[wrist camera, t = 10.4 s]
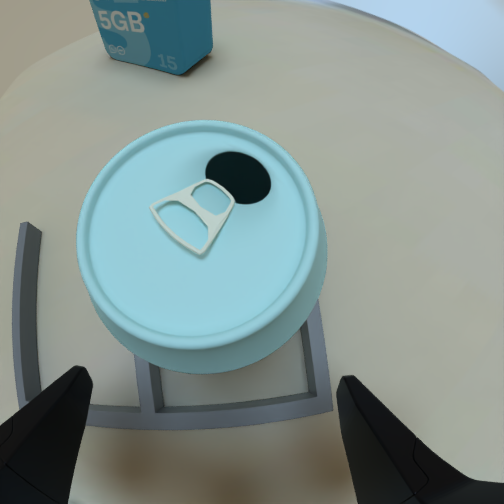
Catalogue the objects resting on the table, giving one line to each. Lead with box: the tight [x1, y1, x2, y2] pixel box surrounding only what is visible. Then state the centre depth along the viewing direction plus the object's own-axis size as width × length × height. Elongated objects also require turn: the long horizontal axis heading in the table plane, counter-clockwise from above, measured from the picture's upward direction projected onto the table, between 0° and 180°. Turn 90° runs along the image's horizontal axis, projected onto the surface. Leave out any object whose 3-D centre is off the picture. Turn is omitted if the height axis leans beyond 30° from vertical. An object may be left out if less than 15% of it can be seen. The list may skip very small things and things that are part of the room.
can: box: [76, 120, 327, 374], centre depth 12 cm, size 7×7×12 cm
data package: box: [90, 0, 213, 75], centre depth 20 cm, size 12×4×12 cm, turn 60°
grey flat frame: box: [12, 222, 333, 430], centre depth 16 cm, size 14×20×3 cm
